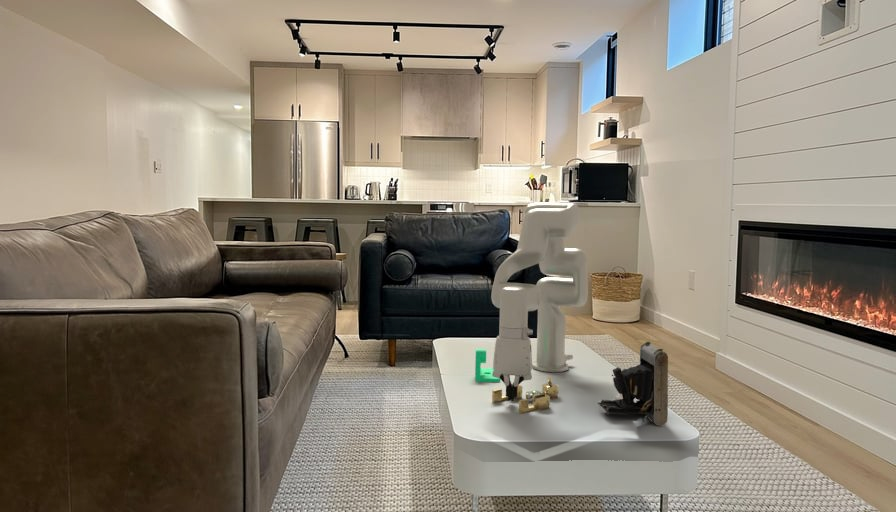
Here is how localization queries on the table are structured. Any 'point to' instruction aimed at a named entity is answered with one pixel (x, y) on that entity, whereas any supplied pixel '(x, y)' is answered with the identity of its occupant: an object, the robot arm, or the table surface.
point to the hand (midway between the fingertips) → (511, 399)
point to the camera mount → (483, 373)
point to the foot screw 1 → (498, 396)
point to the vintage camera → (642, 387)
